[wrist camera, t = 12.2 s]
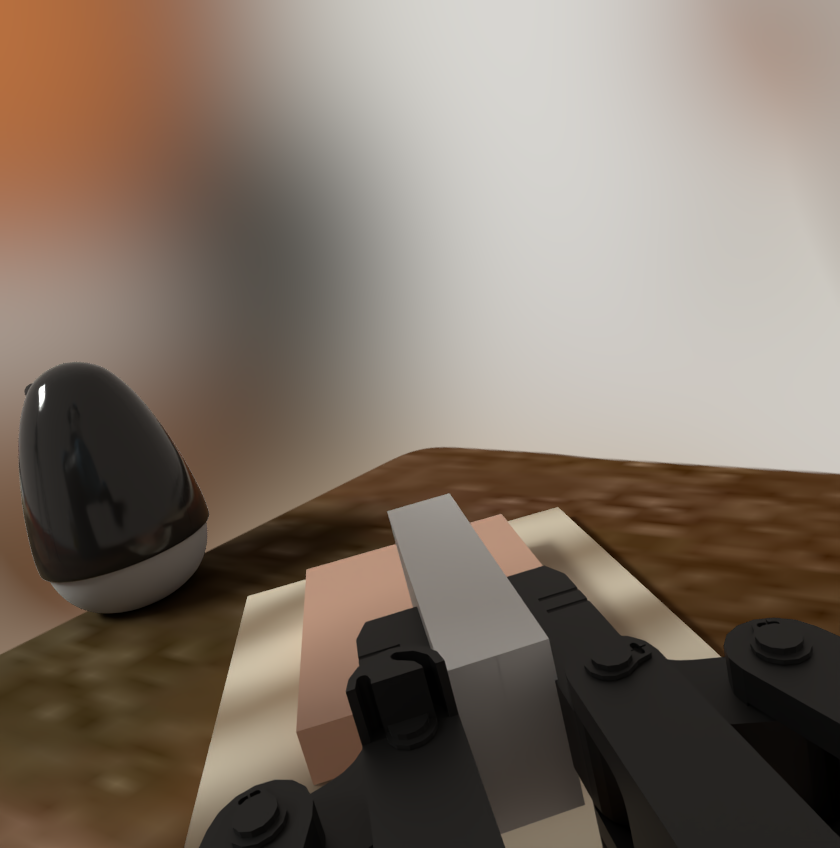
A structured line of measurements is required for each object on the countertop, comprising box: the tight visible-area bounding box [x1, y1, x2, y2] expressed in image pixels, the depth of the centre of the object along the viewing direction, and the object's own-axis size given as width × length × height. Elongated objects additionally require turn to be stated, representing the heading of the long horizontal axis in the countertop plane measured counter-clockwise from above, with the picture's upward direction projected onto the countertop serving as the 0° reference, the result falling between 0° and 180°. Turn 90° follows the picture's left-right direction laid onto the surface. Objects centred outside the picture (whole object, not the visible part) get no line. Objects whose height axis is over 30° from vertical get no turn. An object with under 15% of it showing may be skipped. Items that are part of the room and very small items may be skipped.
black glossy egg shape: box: [18, 362, 209, 613], centre depth 40 cm, size 10×10×15 cm
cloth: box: [184, 507, 721, 848], centre depth 26 cm, size 22×18×1 cm
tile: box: [296, 514, 543, 785], centre depth 26 cm, size 2×10×12 cm
